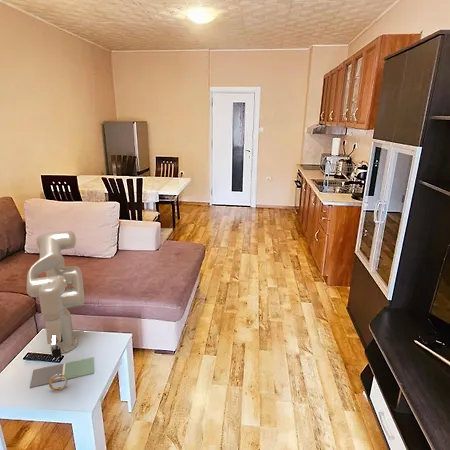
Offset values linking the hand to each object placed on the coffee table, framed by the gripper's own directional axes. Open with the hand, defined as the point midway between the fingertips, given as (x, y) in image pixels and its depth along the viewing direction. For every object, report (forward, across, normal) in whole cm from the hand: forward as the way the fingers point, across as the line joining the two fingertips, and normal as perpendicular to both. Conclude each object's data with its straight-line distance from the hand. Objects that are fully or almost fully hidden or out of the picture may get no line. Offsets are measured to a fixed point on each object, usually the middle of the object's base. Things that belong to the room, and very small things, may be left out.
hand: (57, 349), depth 136 cm
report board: (+20, -10, 0) cm, 23 cm away
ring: (+20, 0, -2) cm, 21 cm away
